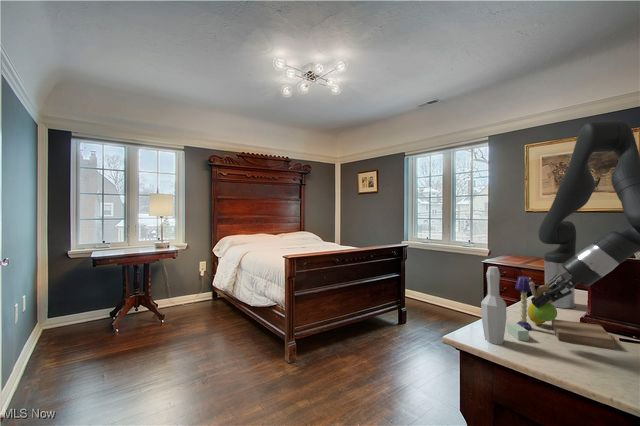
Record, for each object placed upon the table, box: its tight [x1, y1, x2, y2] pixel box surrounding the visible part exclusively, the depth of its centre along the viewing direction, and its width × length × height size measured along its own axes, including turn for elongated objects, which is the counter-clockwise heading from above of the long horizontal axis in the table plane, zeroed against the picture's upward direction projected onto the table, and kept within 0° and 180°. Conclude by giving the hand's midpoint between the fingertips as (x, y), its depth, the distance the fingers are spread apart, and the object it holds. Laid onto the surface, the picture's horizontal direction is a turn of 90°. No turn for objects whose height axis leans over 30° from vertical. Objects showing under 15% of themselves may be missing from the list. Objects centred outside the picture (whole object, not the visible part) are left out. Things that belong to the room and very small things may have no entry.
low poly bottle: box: [480, 266, 507, 345], centre depth 90 cm, size 6×6×22 cm
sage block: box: [506, 322, 530, 341], centre depth 93 cm, size 6×3×3 cm, turn 177°
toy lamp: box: [514, 275, 532, 331], centre depth 98 cm, size 5×5×17 cm
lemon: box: [527, 302, 547, 326], centre depth 100 cm, size 6×6×8 cm
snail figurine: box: [528, 277, 558, 322], centre depth 86 cm, size 5×6×12 cm
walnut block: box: [551, 318, 615, 350], centre depth 91 cm, size 12×12×3 cm
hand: (534, 303), depth 87 cm, fingers closed on snail figurine
